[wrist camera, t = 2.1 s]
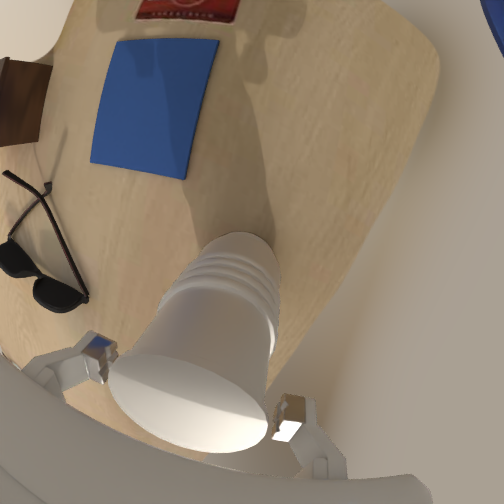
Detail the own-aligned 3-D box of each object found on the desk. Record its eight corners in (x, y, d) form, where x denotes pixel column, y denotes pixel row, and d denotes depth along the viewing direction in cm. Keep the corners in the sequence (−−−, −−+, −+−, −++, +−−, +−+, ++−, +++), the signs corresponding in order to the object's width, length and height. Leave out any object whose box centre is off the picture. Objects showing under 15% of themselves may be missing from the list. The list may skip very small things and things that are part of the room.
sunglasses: (109, 192, 22) (74, 204, 17) (90, 307, 27) (66, 330, 23) (19, 147, 21) (-11, 152, 17) (11, 247, 27) (-13, 260, 22)
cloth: (119, 42, 17) (116, 41, 16) (219, 41, 16) (218, 39, 16) (92, 162, 21) (89, 162, 21) (185, 179, 21) (183, 180, 21)
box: (15, 74, 18) (-26, 73, 11) (54, 64, 17) (5, 56, 10) (3, 142, 21) (-39, 150, 14) (38, 143, 21) (-12, 151, 14)
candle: (186, 251, 23) (80, 371, 9) (254, 210, 21) (192, 326, 7) (229, 311, 25) (178, 456, 11) (297, 280, 23) (299, 441, 9)
